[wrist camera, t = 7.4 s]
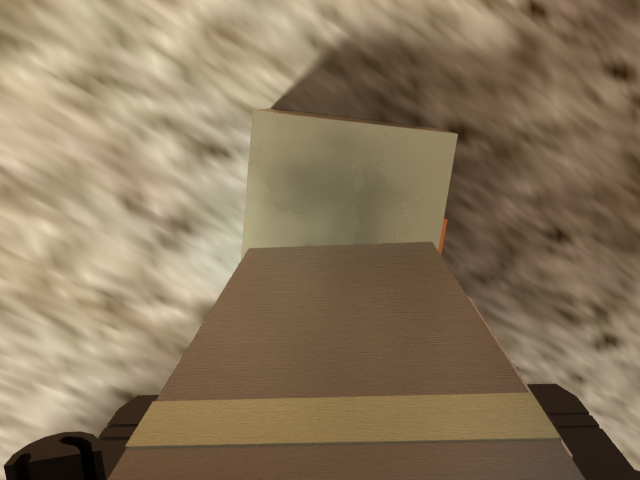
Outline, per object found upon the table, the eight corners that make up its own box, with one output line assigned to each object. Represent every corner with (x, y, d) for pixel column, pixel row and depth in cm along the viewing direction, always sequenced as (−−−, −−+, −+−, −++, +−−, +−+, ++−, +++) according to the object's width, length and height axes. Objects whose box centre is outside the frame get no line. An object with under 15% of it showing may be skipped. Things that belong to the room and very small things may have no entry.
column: (261, 411, 16) (148, 857, 7) (247, 247, 15) (87, 506, 6) (432, 407, 16) (568, 864, 7) (432, 241, 15) (601, 500, 5)
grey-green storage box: (411, 317, 33) (427, 364, 27) (253, 298, 33) (234, 342, 27) (442, 128, 30) (466, 135, 24) (269, 108, 30) (252, 110, 24)
